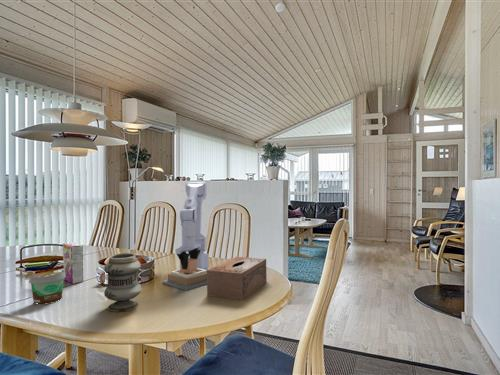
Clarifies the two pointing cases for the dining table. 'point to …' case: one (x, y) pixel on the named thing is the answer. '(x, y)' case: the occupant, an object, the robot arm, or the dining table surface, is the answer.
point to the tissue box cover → (236, 277)
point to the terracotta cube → (190, 266)
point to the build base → (187, 279)
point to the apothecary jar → (122, 281)
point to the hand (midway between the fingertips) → (189, 267)
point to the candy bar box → (73, 262)
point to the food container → (47, 287)
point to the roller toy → (102, 277)
